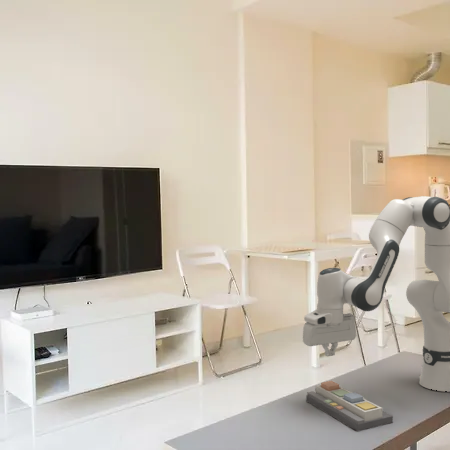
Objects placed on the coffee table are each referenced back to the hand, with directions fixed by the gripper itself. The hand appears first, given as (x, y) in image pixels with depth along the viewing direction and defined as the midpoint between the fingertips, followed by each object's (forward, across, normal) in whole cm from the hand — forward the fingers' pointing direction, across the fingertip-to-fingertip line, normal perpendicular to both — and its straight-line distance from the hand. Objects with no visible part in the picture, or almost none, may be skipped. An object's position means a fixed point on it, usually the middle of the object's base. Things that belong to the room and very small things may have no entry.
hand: (329, 355), depth 186 cm
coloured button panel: (+16, 0, +9) cm, 19 cm away
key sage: (+14, 0, +6) cm, 15 cm away
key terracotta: (+12, 0, 0) cm, 12 cm away
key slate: (+12, 0, +12) cm, 18 cm away
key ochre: (+14, 0, +19) cm, 23 cm away
